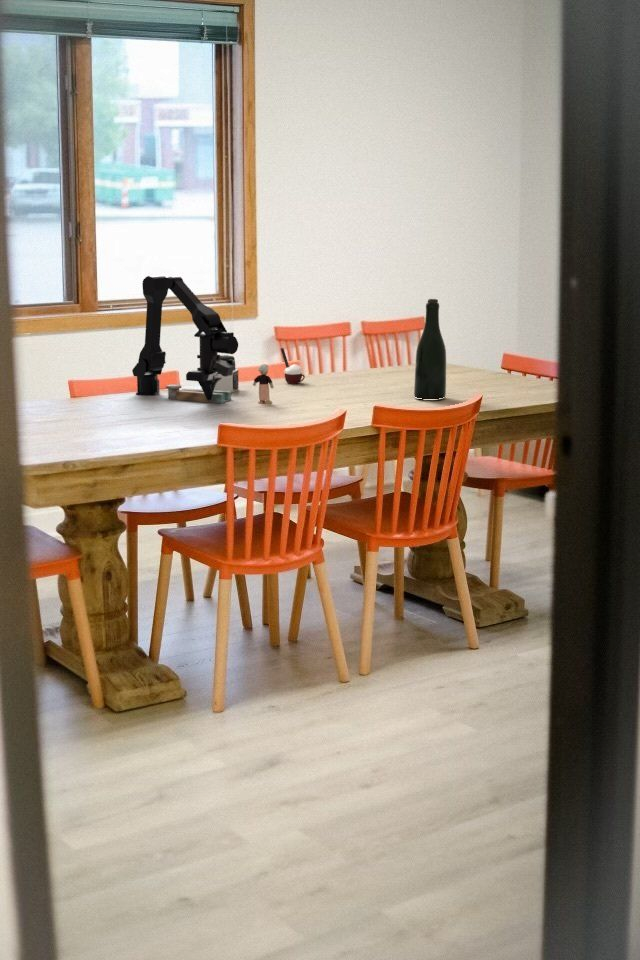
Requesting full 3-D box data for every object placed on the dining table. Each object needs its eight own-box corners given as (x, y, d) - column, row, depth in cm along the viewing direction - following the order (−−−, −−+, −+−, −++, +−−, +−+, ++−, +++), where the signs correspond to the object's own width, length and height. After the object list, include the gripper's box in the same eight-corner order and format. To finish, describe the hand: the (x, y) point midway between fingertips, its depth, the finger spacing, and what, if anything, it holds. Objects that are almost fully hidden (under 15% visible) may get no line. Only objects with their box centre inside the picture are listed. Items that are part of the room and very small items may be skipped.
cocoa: (306, 385, 434) (309, 351, 431) (292, 386, 430) (294, 352, 428) (291, 380, 441) (293, 347, 438) (277, 381, 438) (278, 348, 435)
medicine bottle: (233, 392, 415) (232, 357, 412) (213, 391, 416) (212, 356, 414) (238, 389, 422) (238, 354, 419) (218, 388, 423) (218, 354, 420)
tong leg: (176, 399, 401) (176, 391, 400) (179, 398, 403) (179, 390, 402) (221, 403, 395) (221, 394, 394) (224, 402, 397) (224, 393, 396)
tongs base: (163, 398, 403) (163, 386, 402) (170, 395, 408) (169, 384, 407) (225, 402, 397) (225, 390, 396) (231, 399, 402) (230, 387, 401)
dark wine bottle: (451, 398, 407) (455, 299, 399) (432, 402, 399) (435, 301, 392) (427, 394, 414) (430, 296, 406) (407, 398, 406) (410, 298, 398)
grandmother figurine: (276, 402, 397) (276, 363, 394) (272, 404, 394) (272, 365, 391) (254, 401, 400) (254, 362, 397) (250, 403, 396) (250, 364, 393)
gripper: (215, 356, 380) (215, 406, 383) (244, 350, 396) (245, 397, 400) (184, 354, 385) (185, 403, 388) (215, 348, 401) (215, 395, 404)
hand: (209, 399), depth 395 cm, fingers closed
